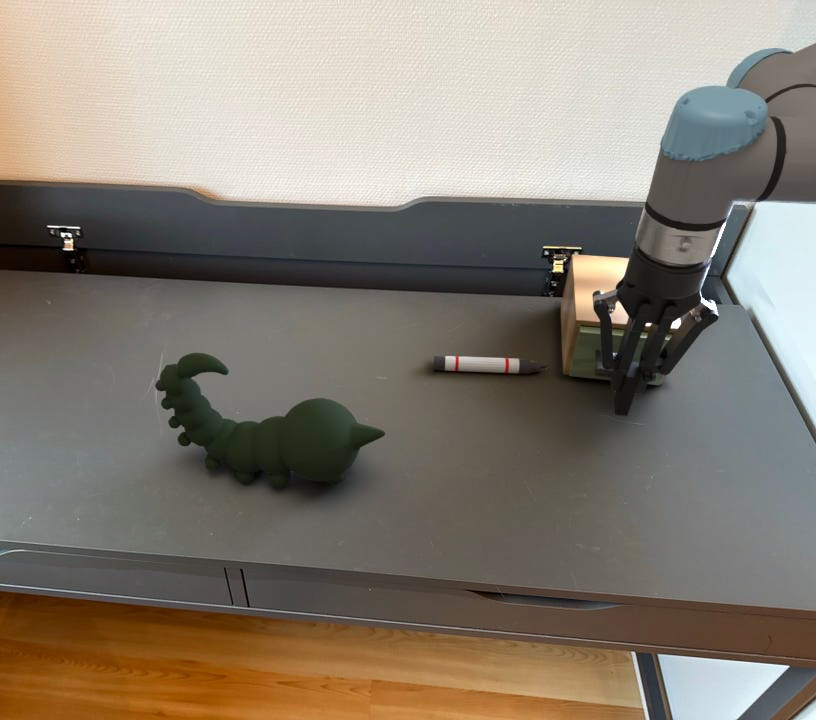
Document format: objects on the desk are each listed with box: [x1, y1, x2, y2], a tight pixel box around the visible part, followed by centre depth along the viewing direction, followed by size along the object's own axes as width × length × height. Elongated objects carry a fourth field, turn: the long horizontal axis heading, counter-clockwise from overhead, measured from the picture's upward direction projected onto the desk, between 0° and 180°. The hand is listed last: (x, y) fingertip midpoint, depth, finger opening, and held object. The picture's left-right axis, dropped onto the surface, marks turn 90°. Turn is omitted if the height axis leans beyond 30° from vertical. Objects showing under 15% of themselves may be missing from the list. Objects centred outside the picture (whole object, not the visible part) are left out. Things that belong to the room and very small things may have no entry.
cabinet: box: [560, 253, 682, 385], centre depth 96 cm, size 15×13×10 cm
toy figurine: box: [154, 352, 386, 488], centre depth 80 cm, size 9×19×25 cm
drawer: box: [568, 325, 673, 386], centre depth 93 cm, size 18×11×8 cm, turn 168°
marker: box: [433, 355, 549, 374], centre depth 96 cm, size 15×2×2 cm, turn 84°
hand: (620, 407), depth 87 cm, fingers closed
